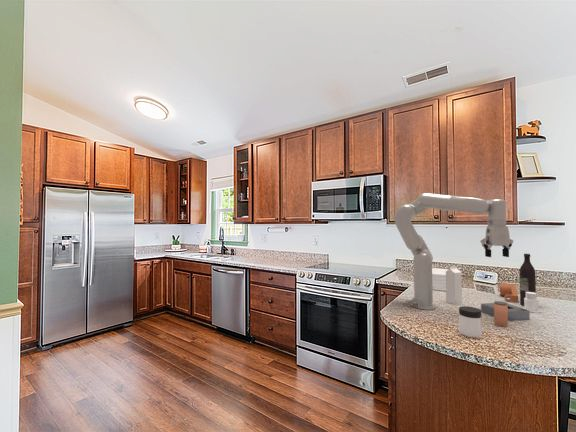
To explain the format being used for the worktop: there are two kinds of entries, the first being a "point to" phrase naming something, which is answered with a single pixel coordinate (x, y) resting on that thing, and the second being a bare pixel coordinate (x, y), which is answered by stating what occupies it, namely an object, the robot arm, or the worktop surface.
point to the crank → (509, 292)
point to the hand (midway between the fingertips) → (496, 256)
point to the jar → (470, 321)
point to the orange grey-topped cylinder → (500, 314)
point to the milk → (453, 286)
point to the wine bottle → (527, 278)
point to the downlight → (531, 302)
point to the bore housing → (513, 311)
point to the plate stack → (439, 279)
